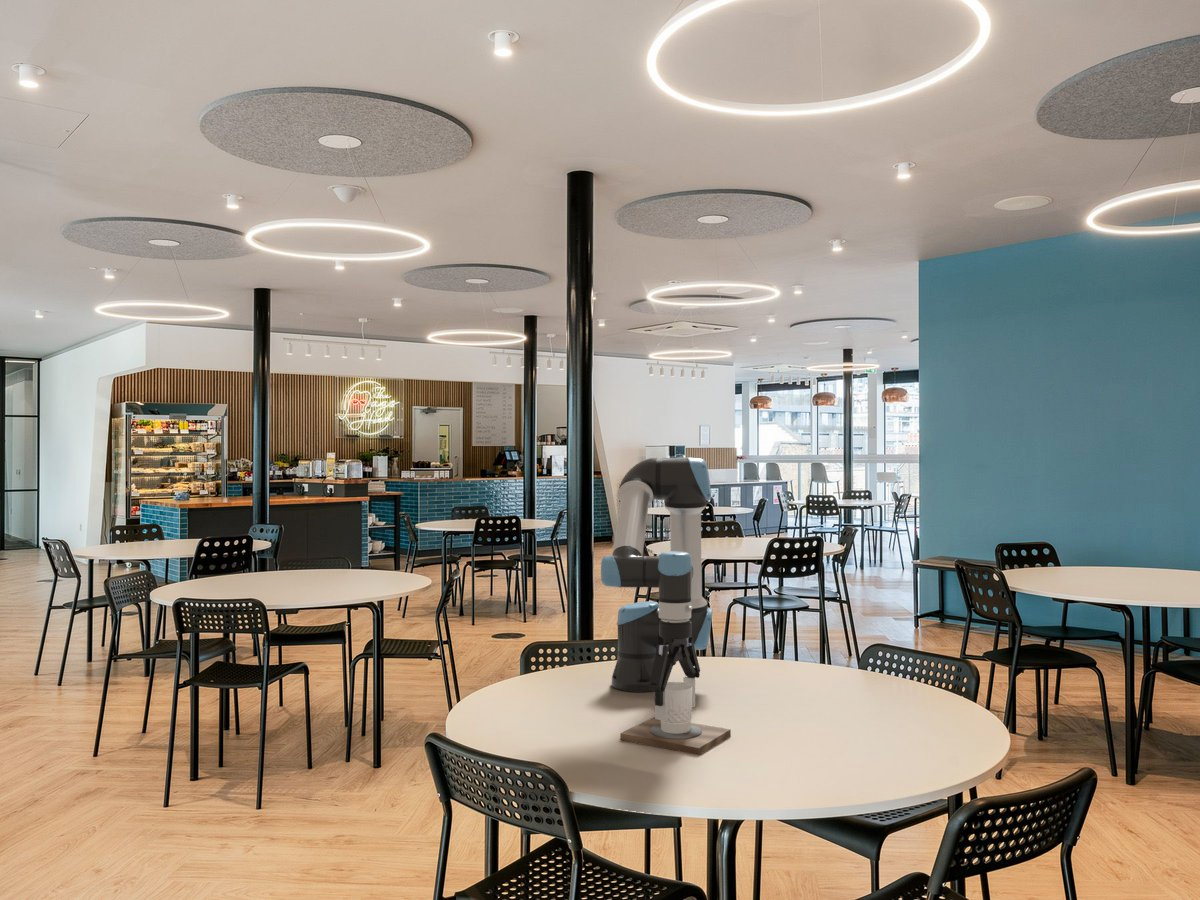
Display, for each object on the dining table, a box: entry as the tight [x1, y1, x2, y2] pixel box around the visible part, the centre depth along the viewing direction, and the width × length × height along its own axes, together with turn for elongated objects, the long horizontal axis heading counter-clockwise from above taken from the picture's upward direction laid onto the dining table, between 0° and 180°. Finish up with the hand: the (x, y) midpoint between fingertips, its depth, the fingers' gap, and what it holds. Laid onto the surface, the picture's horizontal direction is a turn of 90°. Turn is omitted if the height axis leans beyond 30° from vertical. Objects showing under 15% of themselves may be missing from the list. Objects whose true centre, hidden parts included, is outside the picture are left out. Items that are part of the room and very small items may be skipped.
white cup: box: [661, 681, 693, 734], centre depth 205 cm, size 8×8×10 cm
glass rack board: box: [619, 716, 732, 756], centre depth 205 cm, size 16×20×2 cm
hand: (675, 712), depth 205 cm, fingers open, 13 cm apart
